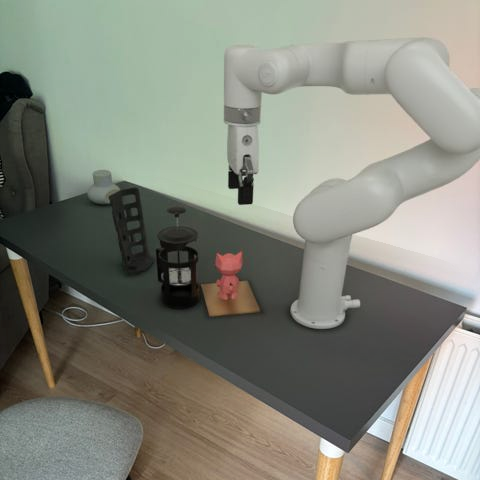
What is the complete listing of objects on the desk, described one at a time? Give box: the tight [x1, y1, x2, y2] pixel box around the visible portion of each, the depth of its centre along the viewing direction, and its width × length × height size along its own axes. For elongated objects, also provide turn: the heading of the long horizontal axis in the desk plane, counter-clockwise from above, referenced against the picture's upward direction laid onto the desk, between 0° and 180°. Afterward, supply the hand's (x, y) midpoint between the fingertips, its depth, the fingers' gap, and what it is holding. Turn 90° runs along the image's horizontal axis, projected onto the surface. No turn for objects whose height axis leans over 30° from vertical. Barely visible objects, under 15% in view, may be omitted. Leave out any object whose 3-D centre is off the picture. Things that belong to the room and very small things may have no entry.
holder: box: [109, 187, 153, 276], centre depth 130 cm, size 11×8×20 cm
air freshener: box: [86, 169, 121, 206], centre depth 169 cm, size 11×8×10 cm
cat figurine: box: [212, 250, 244, 300], centre depth 120 cm, size 7×7×12 cm
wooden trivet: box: [200, 280, 261, 317], centre depth 123 cm, size 12×14×1 cm
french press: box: [155, 205, 201, 310], centre depth 116 cm, size 12×9×23 cm
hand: (240, 195), depth 113 cm, fingers open, 9 cm apart
